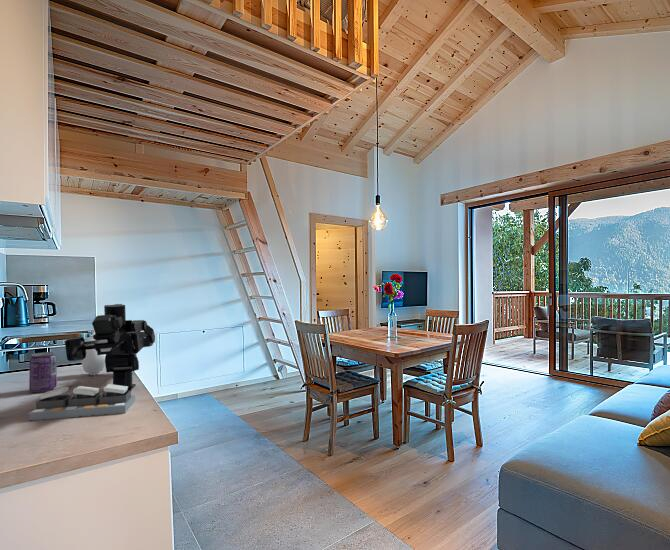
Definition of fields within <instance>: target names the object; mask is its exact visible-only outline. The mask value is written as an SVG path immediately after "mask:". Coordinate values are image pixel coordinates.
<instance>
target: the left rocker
mask: <svg viewBox="0 0 670 550" xmlns="http://www.w3.org/2000/svg"><path fill="white" fill-rule="evenodd" d="M67 391H69V386H65V387H60V388H56V389H52V390H50V391H46V392H43V393H42V394H39V396H40V399H44V398H48V397H52V396H56V395H64V394H65V393H66V392H67Z"/></svg>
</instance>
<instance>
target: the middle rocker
mask: <svg viewBox="0 0 670 550" xmlns="http://www.w3.org/2000/svg"><path fill="white" fill-rule="evenodd" d="M99 390H100V388H99V387H92V386H83V385H78V386H77V387H75V388H74V389H73V391H72V394H75V395H76V394H84V395H92V396H94V395H95V394H96V393H99Z"/></svg>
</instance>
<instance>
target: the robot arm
mask: <svg viewBox="0 0 670 550" xmlns="http://www.w3.org/2000/svg"><path fill="white" fill-rule="evenodd" d="M103 311H104V314H100V315H97V316H96V317H94V320H93V321H92V323H91V324H92V328H93V332H94V331H95V334H94V335H93V339H95V341H88V340H86V339H85V338H84V336H79V337H77V336H76V337H70V338H68V339H66V340H65V341H64V347H65V355H66V360H68V362H75V361H76V362H77V361H82V360H83V359H84V358H85V357H86V350H88V349H95V350H96V351H97V355H104V354H106V356H105V371H106V373H112V385H120V386H128V389H127V391H132V390H133V389H134V388H135V387H136V383H133V372H136V371H138V370H140V362H139V359H138V356H137V354H138V353H139V352H140V351H141V350H142V349H143V348H149V347H152V346H153V345H154V344H155V341H156V334H155V331H154V328H153V327H151V326H150V325H148V322H147V321H146V320H144V319H139V320H138V319H137V320H132V319H128V320H127V319H126V305H125V304H123V303H115V304H105V305H104V309H103ZM88 344H89V345H88ZM91 344H92V345H91Z"/></svg>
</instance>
